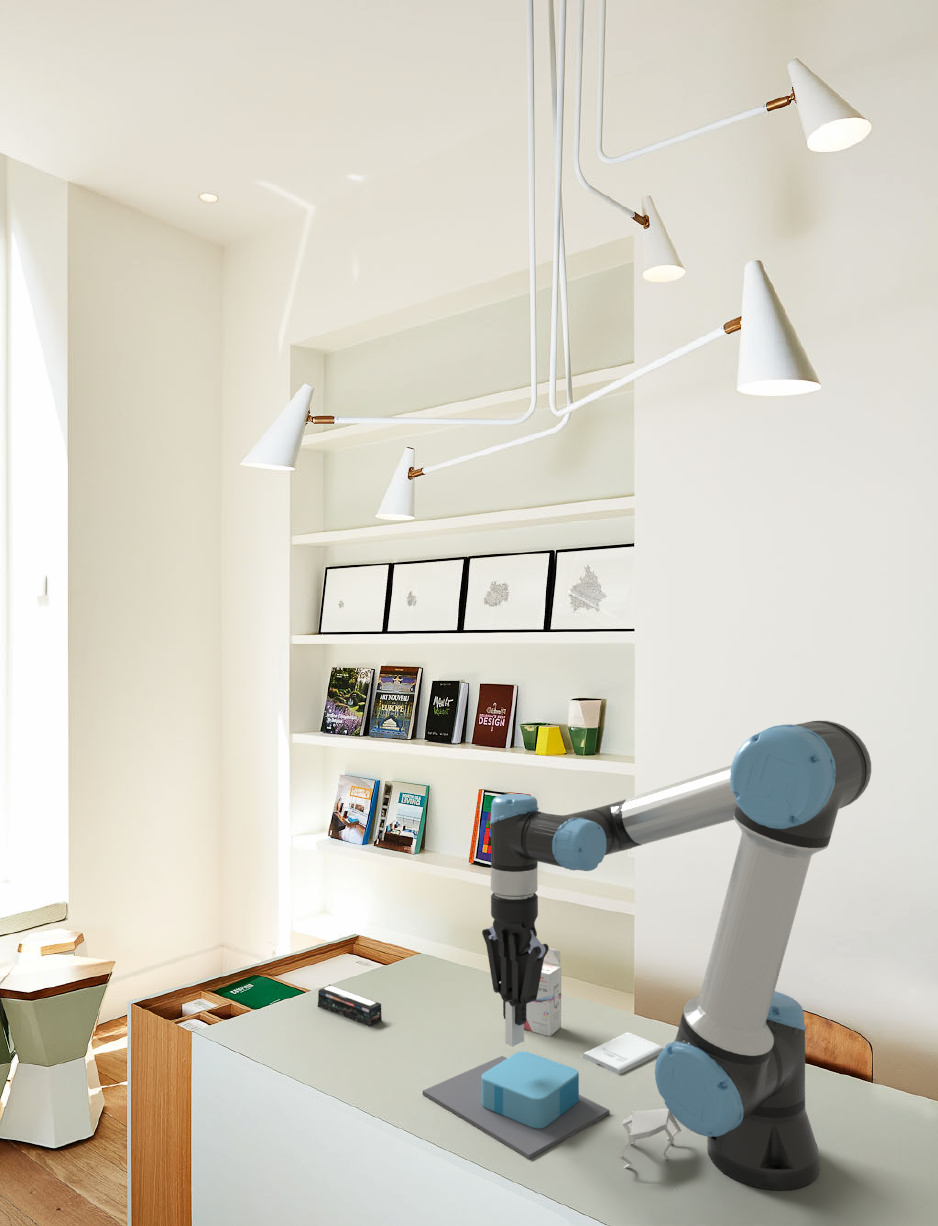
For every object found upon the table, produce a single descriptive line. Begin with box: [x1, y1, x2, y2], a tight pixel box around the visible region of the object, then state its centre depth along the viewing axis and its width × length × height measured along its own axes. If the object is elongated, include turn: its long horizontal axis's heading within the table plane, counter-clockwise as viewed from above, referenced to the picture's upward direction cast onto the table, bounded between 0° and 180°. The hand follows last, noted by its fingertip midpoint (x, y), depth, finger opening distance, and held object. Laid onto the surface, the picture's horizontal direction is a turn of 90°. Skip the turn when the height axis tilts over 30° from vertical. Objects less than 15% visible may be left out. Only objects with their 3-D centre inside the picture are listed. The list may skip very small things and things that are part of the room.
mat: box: [422, 1055, 611, 1160], centre depth 140 cm, size 24×18×1 cm
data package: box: [481, 1050, 580, 1129], centre depth 139 cm, size 12×4×12 cm
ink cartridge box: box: [524, 947, 562, 1037], centre depth 168 cm, size 9×5×15 cm, turn 58°
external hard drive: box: [582, 1032, 664, 1076], centre depth 157 cm, size 2×8×12 cm
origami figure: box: [617, 1107, 682, 1170], centre depth 126 cm, size 12×8×5 cm
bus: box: [316, 984, 382, 1027], centre depth 172 cm, size 14×25×4 cm, turn 51°
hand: (514, 1042), depth 140 cm, fingers closed
